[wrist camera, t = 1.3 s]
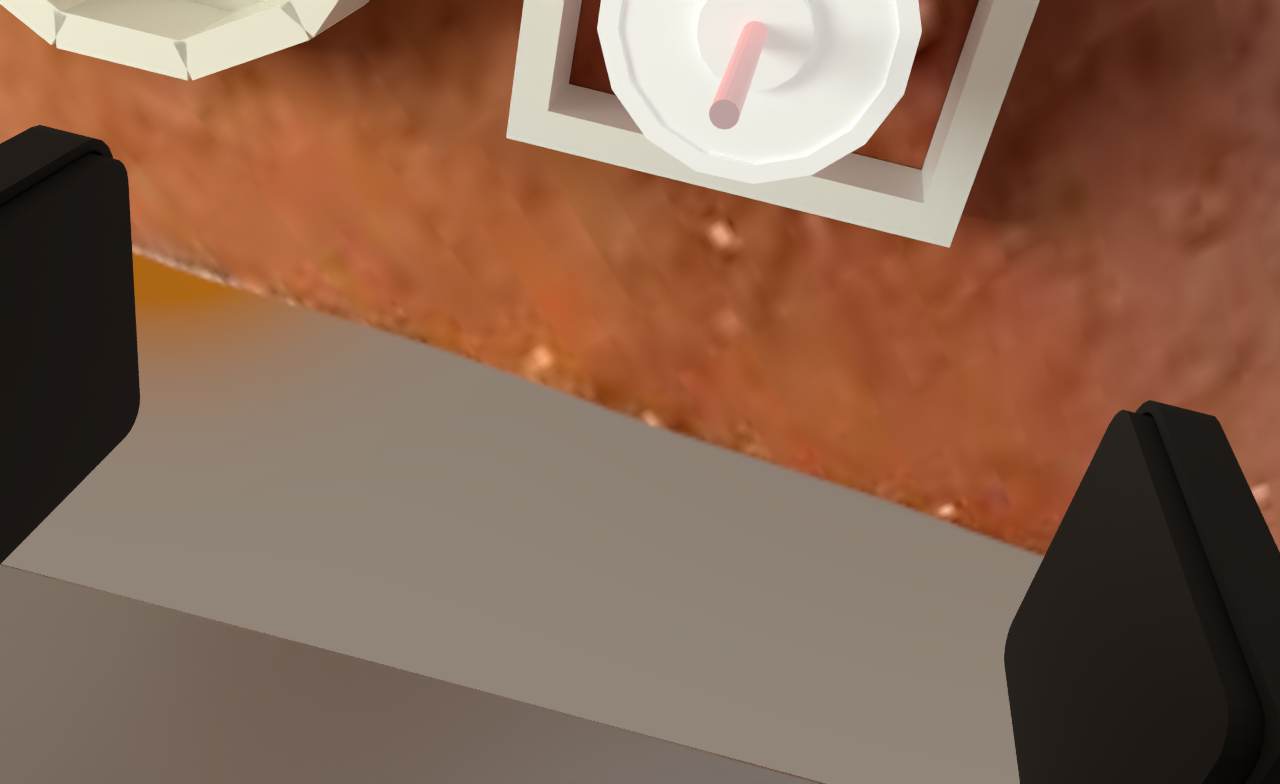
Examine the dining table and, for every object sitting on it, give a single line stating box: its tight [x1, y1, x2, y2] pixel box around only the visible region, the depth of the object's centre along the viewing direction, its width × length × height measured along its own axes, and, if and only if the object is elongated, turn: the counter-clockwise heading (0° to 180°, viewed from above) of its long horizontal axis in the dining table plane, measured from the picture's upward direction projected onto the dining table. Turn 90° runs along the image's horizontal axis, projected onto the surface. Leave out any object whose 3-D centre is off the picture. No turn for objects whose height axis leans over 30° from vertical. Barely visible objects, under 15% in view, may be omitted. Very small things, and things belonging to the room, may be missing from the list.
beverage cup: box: [597, 0, 922, 184], centre depth 24 cm, size 6×6×14 cm
